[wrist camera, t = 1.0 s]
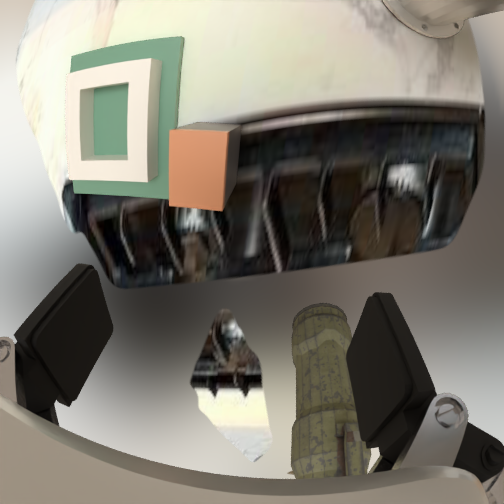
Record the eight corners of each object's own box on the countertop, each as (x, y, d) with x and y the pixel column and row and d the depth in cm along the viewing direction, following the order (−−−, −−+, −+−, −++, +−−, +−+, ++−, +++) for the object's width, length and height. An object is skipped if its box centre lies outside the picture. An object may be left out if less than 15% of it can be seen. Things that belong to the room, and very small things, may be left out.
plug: (198, 122, 29) (169, 130, 21) (241, 124, 29) (227, 132, 21) (195, 179, 33) (169, 205, 25) (236, 182, 32) (222, 211, 25)
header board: (76, 56, 24) (57, 55, 21) (184, 38, 24) (171, 30, 20) (78, 190, 34) (61, 200, 31) (176, 196, 34) (164, 208, 30)
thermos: (287, 346, 46) (276, 556, 15) (297, 293, 40) (296, 565, 9) (337, 349, 45) (352, 550, 15) (356, 296, 39) (400, 548, 9)
